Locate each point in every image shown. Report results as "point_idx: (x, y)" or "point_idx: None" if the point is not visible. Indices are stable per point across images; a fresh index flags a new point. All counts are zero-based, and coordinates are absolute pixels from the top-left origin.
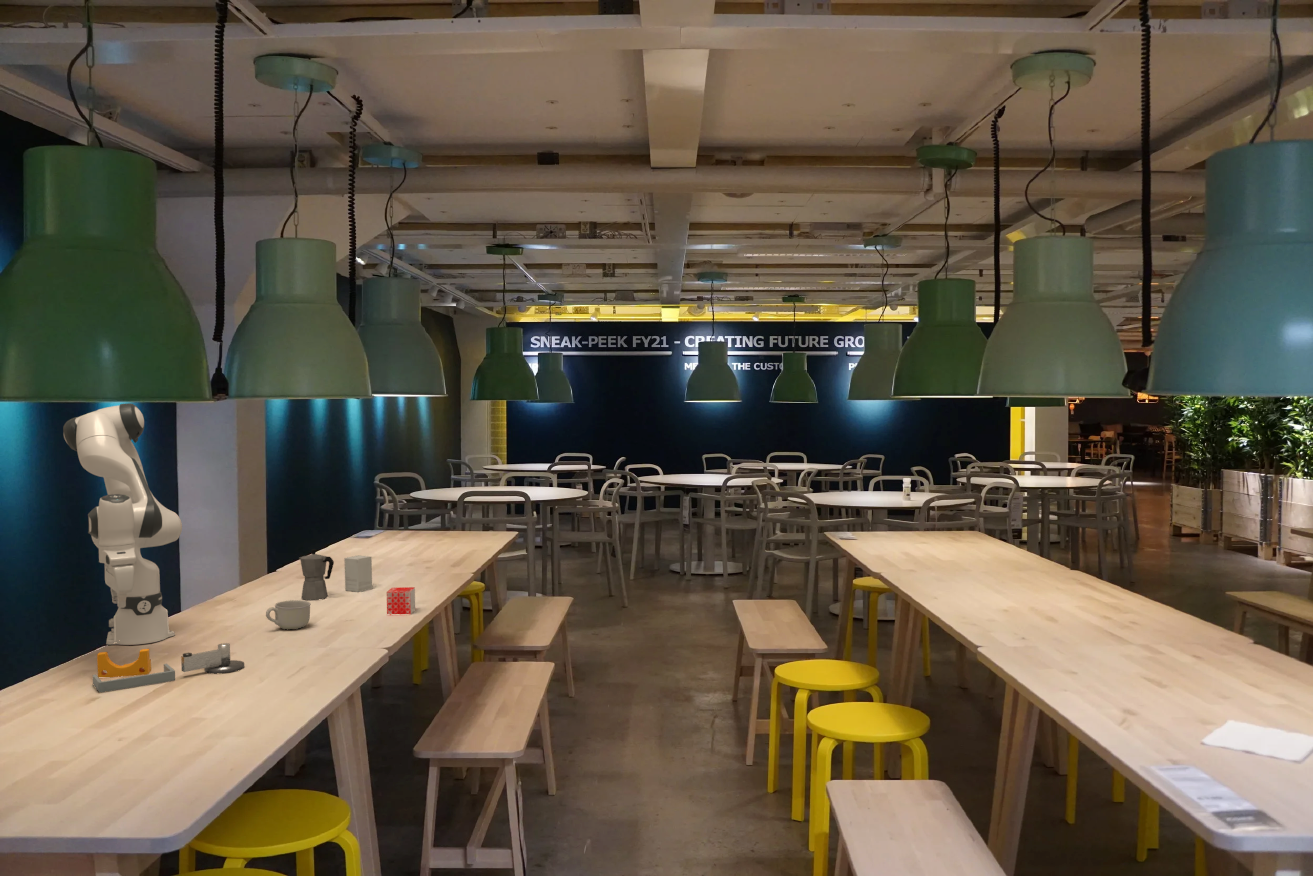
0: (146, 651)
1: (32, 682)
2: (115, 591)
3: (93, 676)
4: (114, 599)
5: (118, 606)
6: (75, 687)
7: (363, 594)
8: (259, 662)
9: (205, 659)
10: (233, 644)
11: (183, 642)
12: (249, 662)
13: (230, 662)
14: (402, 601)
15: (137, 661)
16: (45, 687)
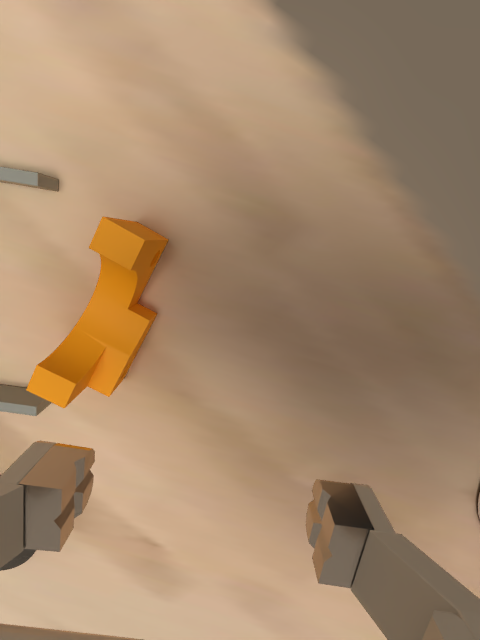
0: (28, 386)
1: (258, 13)
2: (420, 626)
3: (16, 169)
4: (324, 514)
5: (32, 445)
6: (60, 119)
7: None
8: (5, 595)
9: None
10: (262, 625)
11: None
12: (22, 581)
13: None
14: None
15: (61, 344)
16: (138, 29)
